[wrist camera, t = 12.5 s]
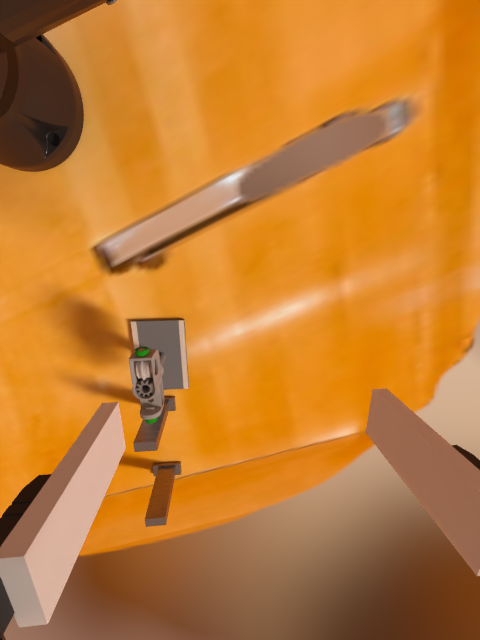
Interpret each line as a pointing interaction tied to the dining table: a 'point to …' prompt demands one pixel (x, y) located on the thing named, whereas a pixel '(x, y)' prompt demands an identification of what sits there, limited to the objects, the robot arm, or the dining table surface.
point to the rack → (158, 466)
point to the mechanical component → (148, 381)
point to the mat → (165, 348)
